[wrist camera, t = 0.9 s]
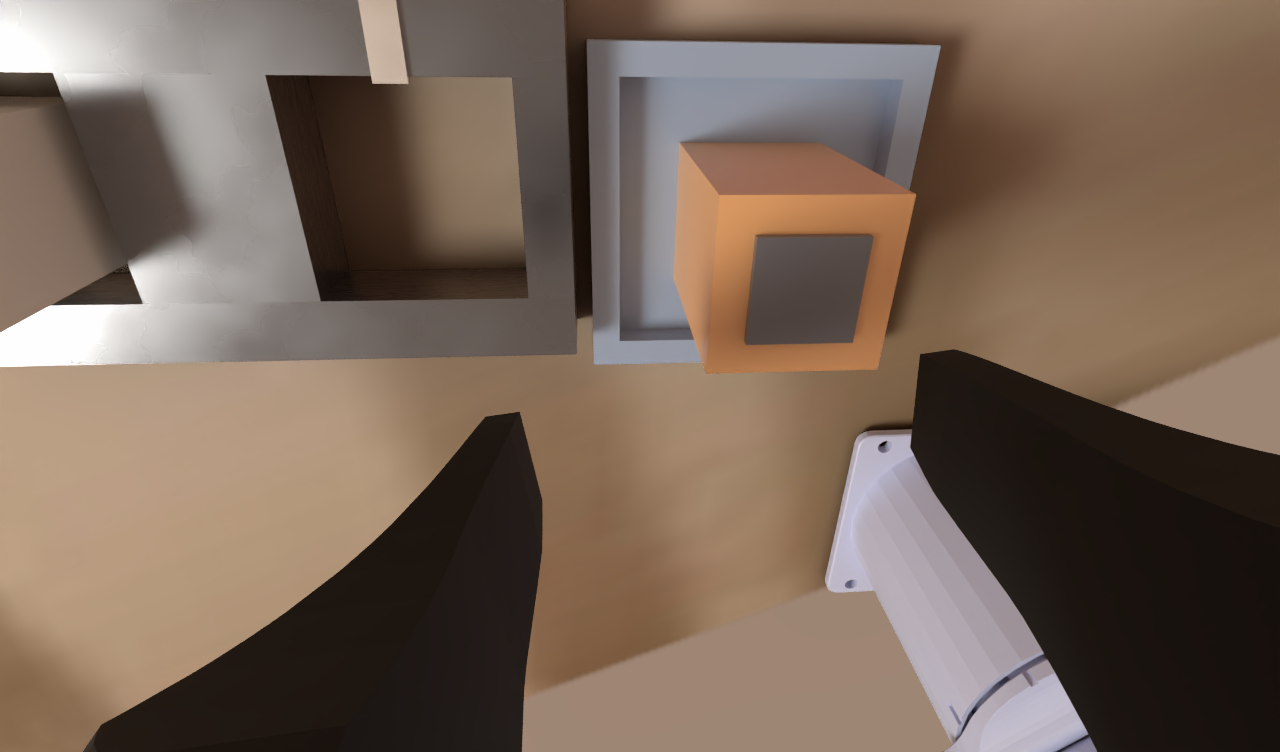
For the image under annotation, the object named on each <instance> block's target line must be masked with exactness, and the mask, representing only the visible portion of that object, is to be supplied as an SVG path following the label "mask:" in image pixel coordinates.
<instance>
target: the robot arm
mask: <svg viewBox="0 0 1280 752" xmlns="http://www.w3.org/2000/svg"><path fill="white" fill-rule="evenodd" d="M884 441H887V443H886V444H885V445H883V446H880V447H878V446H879V444H881V443H882V442H884ZM541 554H542V497H541V494H540V490H539V486H538V482H537V478H536V474H535V470H534V466H533V462H532V458H531V454H530V451H529V447H528V443H527V439H526V435H525V431H524V427H523V423H522V419H521V415H520V412H515V413H508V414H502V415H495V416H488V417H485V418H484V419H483V420H482V422H481V423H480V424H479V425H478V426H477V428H476V429H475V430H474V431H473V433H472V434H471V435H470V436H469V437H468V439H467V440H466V441H465V442H464V444H463V445H462V446H461V447H460V449H459V450H458V451H457V452H456V453H455V455H454V456H453V457H452V458H451V460H450V461H449V462H448V463H447V464H446V465H445V467H444V468H443V469H442V470H441V471H440V473H439V474H438V475H437V476H436V477H435V478H434V480H433V481H432V482H431V483H430V484H429V485H428V486H427V487H426V489H425V490H424V491H423V492H422V493H421V494H420V495H419V496H418V497H417V498H416V499H415V500H414V501H413V502H412V503H411V504H410V505H409V507H408V508H407V509H406V510H405V511H404V512H403V513H402V514H401V515H400V516H399V517H398V518H397V519H396V520H395V521H394V522H393V523H392V524H391V525H390V526H389V527H388V528H387V529H386V530H385V531H384V532H383V533H382V534H381V535H380V536H379V537H378V538H377V539H376V540H375V541H374V542H373V543H371V544H370V545H369V546H368V547H367V548H366V549H365V550H363V551H362V552H361V553H360V554H359V555H358V556H357V557H356V558H354V559H353V560H352V561H351V562H350V563H349V564H348V565H346V566H345V567H344V568H343V569H342V570H340V571H339V572H338V573H337V574H335V575H334V576H333V577H332V578H330V579H329V580H328V581H326V582H325V583H324V584H322V585H321V586H320V587H318V588H317V589H316V590H315V591H313V592H312V593H311V594H309V595H308V596H307V597H305V598H304V599H303V600H301V601H300V602H299V603H298V604H296V605H295V606H294V607H292V608H291V609H290V610H288V611H287V612H286V613H284V614H283V615H282V616H280V617H279V618H277V619H276V620H274V621H273V622H271V623H270V624H269V625H267V626H266V627H264V628H263V629H261V630H260V631H258V632H257V633H255V634H254V635H252V636H251V637H249V638H248V639H246V640H245V641H243V642H242V643H240V644H239V645H237V646H236V647H234V648H232V649H231V650H229V651H228V652H226V653H225V654H223V655H222V656H220V657H218V658H217V659H215V660H214V661H212V662H210V663H209V664H207V665H205V666H204V667H202V668H201V669H199V670H197V671H196V672H194V673H192V674H191V675H189V676H187V677H185V678H184V679H182V680H180V681H178V682H177V683H175V684H173V685H171V686H170V687H168V688H166V689H164V690H163V691H161V692H159V693H157V694H156V695H154V696H152V697H150V698H149V699H147V700H145V701H143V702H142V703H140V704H138V705H136V706H135V707H133V708H131V709H129V710H128V711H126V712H124V713H122V714H120V715H119V716H117V717H115V718H113V719H111V720H109V721H107V722H106V723H104V724H102V725H101V726H100V728H99V729H98V730H97V732H96V733H95V735H94V736H93V738H92V739H91V740H90V742H89V743H88V745H87V746H86V748H85V749H84V751H83V752H522V729H523V703H524V685H525V674H526V664H527V656H528V649H529V642H530V635H531V628H532V621H533V614H534V606H535V599H536V592H537V585H538V577H539V570H540V562H541ZM849 580H850V581H849ZM825 583H826V585H827V587H828V589H829V590H830V591H832V592H856V591H875V593H876V595H877V597H878V599H879V601H880V603H881V605H882V607H883V608H884V610H885V613H886V614H887V616H888V618H889V620H890V622H891V624H892V626H893V628H894V630H895V632H896V634H897V636H898V638H899V640H900V642H901V644H902V646H903V648H904V650H905V652H906V654H907V656H908V658H909V660H910V662H911V664H912V666H913V668H914V670H915V672H916V674H917V675H918V678H919V680H920V682H921V684H922V686H923V688H924V689H925V691H926V693H927V695H928V697H929V699H930V701H931V703H932V705H933V707H934V709H935V711H936V713H937V715H938V717H939V719H940V721H941V723H942V725H943V727H944V729H945V731H946V733H947V735H948V737H949V739H950V741H951V742H952V745H951V746H950V747H949V748H947V749H946V750H944V751H943V752H1280V455H1277V454H1272V453H1267V452H1263V451H1259V450H1254V449H1250V448H1246V447H1242V446H1237V445H1234V444H1230V443H1226V442H1222V441H1219V440H1215V439H1212V438H1208V437H1204V436H1201V435H1197V434H1194V433H1190V432H1186V431H1182V430H1179V429H1176V428H1172V427H1169V426H1166V425H1162V424H1159V423H1155V422H1153V421H1149V420H1146V419H1143V418H1140V417H1137V416H1134V415H1132V414H1129V413H1126V412H1123V411H1120V410H1117V409H1114V408H1111V407H1108V406H1105V405H1102V404H1100V403H1097V402H1094V401H1091V400H1089V399H1086V398H1083V397H1080V396H1078V395H1075V394H1073V393H1070V392H1067V391H1065V390H1062V389H1060V388H1057V387H1054V386H1052V385H1049V384H1047V383H1044V382H1042V381H1039V380H1037V379H1034V378H1032V377H1029V376H1026V375H1024V374H1021V373H1019V372H1016V371H1014V370H1011V369H1009V368H1006V367H1004V366H1001V365H999V364H996V363H993V362H991V361H988V360H985V359H983V358H980V357H977V356H974V355H971V354H968V353H965V352H962V351H958V350H947V351H940V352H933V353H926V354H920V361H919V370H918V379H917V389H916V398H915V407H914V416H913V426H912V429H906V430H874V431H866V432H864V433H862V434H860V435H859V436H858V437H857V439H856V441H855V444H854V449H853V453H852V458H851V462H850V467H849V472H848V476H847V481H846V485H845V490H844V494H843V499H842V504H841V508H840V513H839V517H838V522H837V527H836V531H835V536H834V540H833V545H832V549H831V554H830V559H829V563H828V568H827V572H826V577H825Z"/></svg>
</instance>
